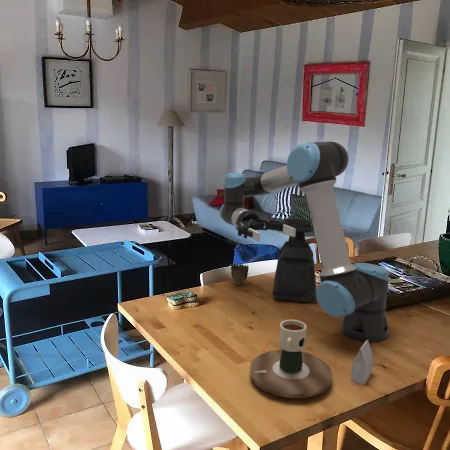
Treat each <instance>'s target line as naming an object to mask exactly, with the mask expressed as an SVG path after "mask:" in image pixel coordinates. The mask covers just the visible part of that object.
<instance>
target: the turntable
mask: <svg viewBox="0 0 450 450" xmlns="http://www.w3.org/2000/svg"><path fill="white" fill-rule="evenodd" d="M282 350H283V349H276V350H275V349H274V350H269V351H266V352H263V353H261V354H259V355H258V356H256V357H255V358H253V360H252V361H251V363H250V371H249V372H250V374H249V375H250V378H251V380H252V381H253V383H254V384H255V385H256V386H257V387H258V388H260V389H261V390H263V391H265V392H266V393H268V394H271V395H274V396H277V397H283V398H289V399H306V398H311V397H315V396H319V395H321V394H323V393H324V392H326V391H327V390H329V388H330V386H331V385H332V379H333V373H332V370H331V367H330V365H328V363H326V362H325V361H324V360H323V359H321V358H320V357H318V356H317V355H313V354H311V353H308V352H305V351H301V353H302V366H303V368H302V371H300V372H298V373H291V372H287V371H284V370H282V369H281V368H280V367H279V364H280V358H281V353H282Z"/></svg>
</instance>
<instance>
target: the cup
mask: <svg viewBox="0 0 450 450" xmlns="http://www.w3.org/2000/svg"><path fill="white" fill-rule="evenodd" d="M230 273H231V278H232V280H233V282H234V284H235V286H240V287H241V286H243V285H244V283H245V282H246V280H247V279H248V275H249V265H246V264H245V265H244V264H243V263H242V264H241V263H240V264H238V263H237V264H232V265H231V266H230Z"/></svg>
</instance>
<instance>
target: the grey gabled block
mask: <svg viewBox="0 0 450 450" xmlns="http://www.w3.org/2000/svg"><path fill="white" fill-rule="evenodd" d="M373 357H374V354H373V351H372V348H371V346H370V342H368V340H366V341H364V343H363V344H362V346H361V347H360V349H359V351H358V353H357V355H355V358H354V359H353V360H352V364H351V366H352V367H351V375H350V376H351V377H350V381H351V382H353V383H356V384H359V385H363V386H365V385H366V383H367V382H368V380H369V378H370V377H371V375H372V368H373Z"/></svg>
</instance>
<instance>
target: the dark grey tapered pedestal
mask: <svg viewBox="0 0 450 450" xmlns="http://www.w3.org/2000/svg"><path fill="white" fill-rule="evenodd" d="M282 222H287V223H290V227H293V228H295V229H296V236H295V237H292V236H290V235H288V236H289V237H288V240H287V241H285V242H284V244H282V246H281V248H280V249H279V252H278V257H277V262H276V263H277V264H276V268H275V272H274V281H273V287H272V288H273V289H272V295H273V297H274V298H276V299H277V300H278V301H289V302H290V301H292V302H303V303H310V302H312V301H314V300H315V299H317V298H316V290H317V286H316V285H317V284H316V271H315V270H316V269H315V260H314V252H313V250H312V248H311V246H310V244H309V242H306V237H305V233H306V234H307V233H312V230H313V224H312V220H311V219H307V218H301V217H300V218H299V217H291V218H286V219H283V221H282Z"/></svg>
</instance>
